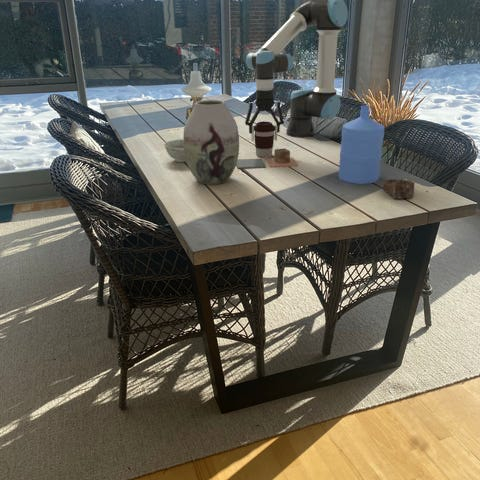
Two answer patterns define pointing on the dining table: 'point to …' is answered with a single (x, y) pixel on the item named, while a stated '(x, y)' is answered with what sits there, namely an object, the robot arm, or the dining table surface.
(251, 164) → the slate tile
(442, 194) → the dining table surface
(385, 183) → the rock
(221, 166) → the vase
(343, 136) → the water jug
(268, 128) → the coffee cup
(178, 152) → the bowl
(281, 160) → the walnut block
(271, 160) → the terracotta tile
